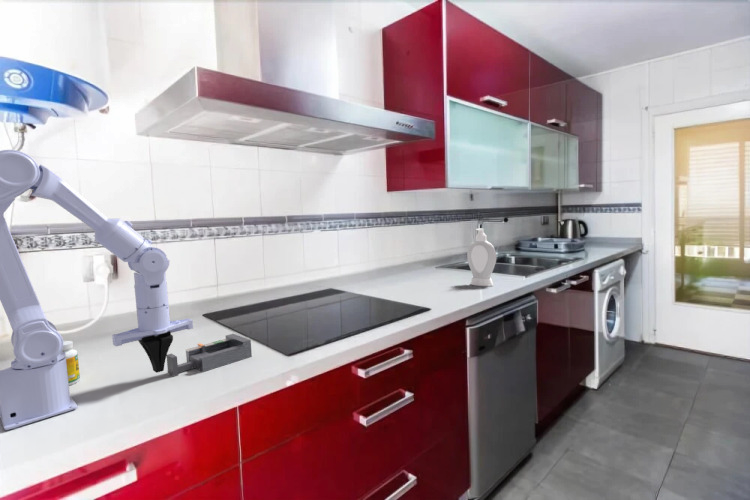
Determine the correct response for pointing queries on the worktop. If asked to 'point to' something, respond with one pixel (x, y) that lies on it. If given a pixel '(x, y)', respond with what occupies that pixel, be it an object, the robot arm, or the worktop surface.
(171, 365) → the grey hook
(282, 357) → the worktop surface
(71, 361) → the supplement bottle
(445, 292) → the worktop surface
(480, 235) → the soap bottle
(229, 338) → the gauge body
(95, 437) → the worktop surface
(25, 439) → the worktop surface
